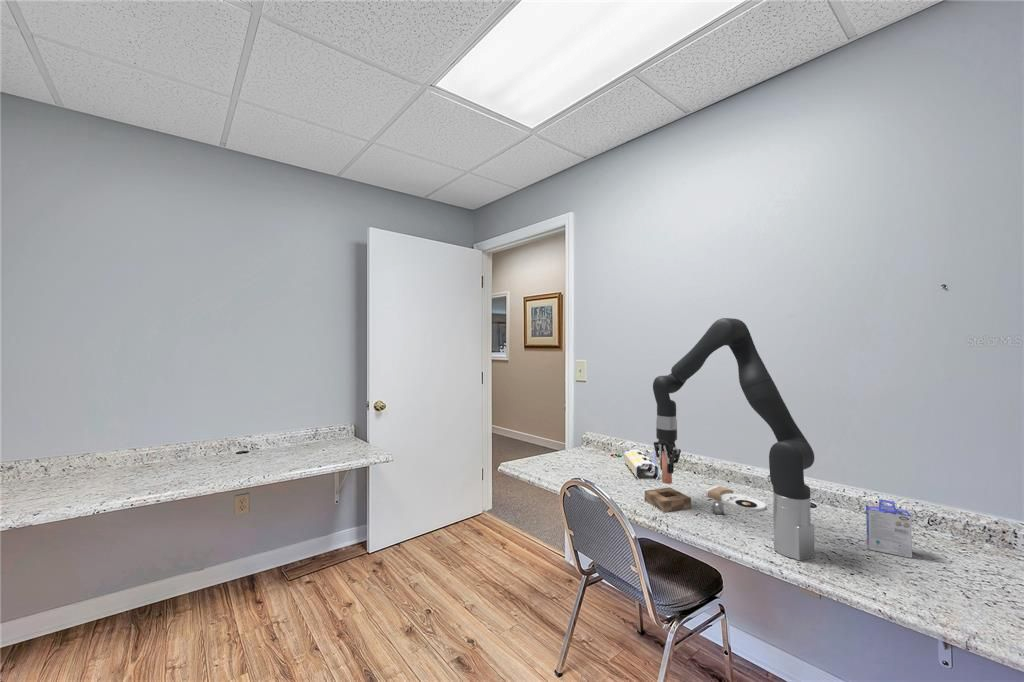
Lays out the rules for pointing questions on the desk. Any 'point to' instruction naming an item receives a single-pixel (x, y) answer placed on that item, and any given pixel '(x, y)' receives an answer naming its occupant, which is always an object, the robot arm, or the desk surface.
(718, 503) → the short pin
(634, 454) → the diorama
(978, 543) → the desk surface
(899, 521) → the ink cartridge box
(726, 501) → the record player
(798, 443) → the robot arm
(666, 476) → the long pin
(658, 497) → the hole block
